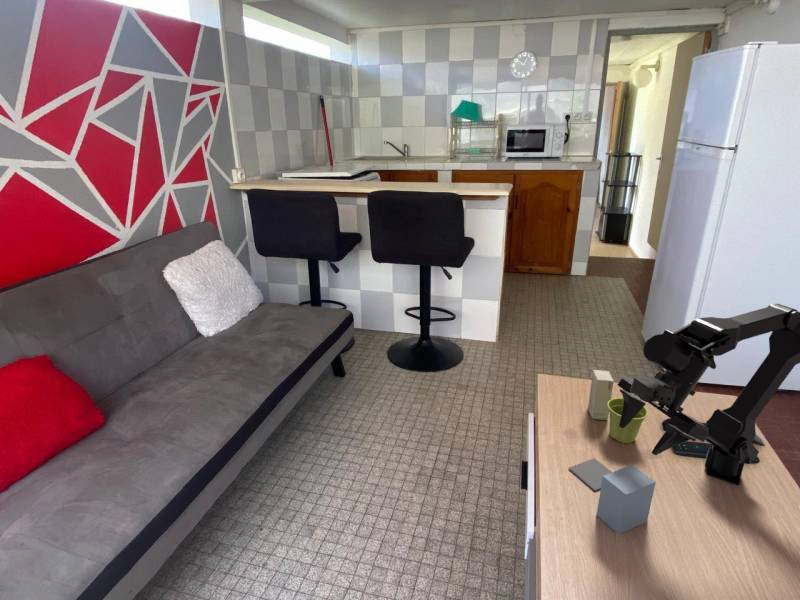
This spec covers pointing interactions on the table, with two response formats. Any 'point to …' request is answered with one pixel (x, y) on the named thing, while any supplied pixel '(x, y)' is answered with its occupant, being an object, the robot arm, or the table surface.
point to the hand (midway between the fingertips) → (636, 440)
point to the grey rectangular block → (625, 498)
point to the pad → (591, 473)
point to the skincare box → (600, 394)
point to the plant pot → (615, 410)
